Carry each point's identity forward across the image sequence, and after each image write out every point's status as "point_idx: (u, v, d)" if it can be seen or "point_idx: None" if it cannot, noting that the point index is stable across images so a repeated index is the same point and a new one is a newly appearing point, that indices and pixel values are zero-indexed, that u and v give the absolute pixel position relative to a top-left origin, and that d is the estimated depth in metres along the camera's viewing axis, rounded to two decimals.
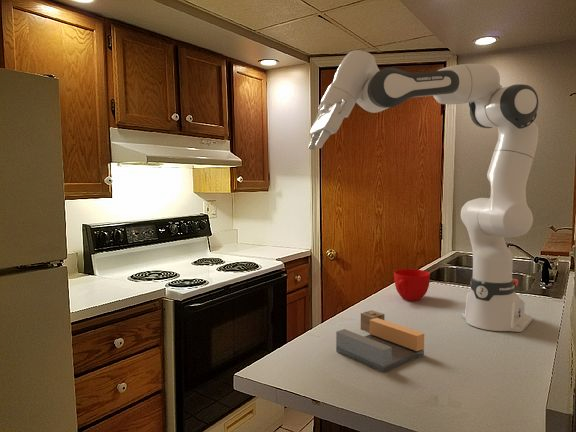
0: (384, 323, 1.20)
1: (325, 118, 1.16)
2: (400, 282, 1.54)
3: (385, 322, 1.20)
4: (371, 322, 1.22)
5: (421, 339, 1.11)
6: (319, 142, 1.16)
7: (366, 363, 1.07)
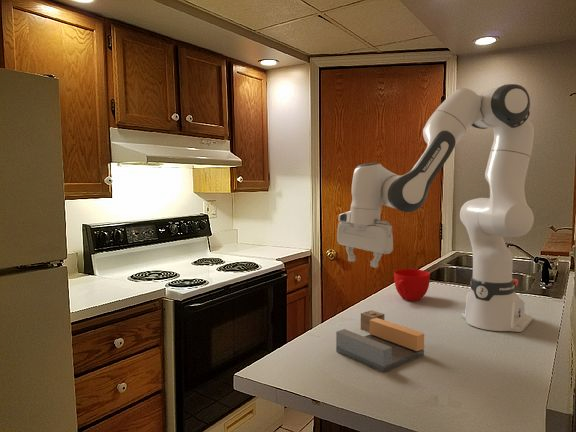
0: (384, 323, 1.20)
1: (371, 240, 1.23)
2: (400, 282, 1.54)
3: (385, 322, 1.20)
4: (371, 322, 1.22)
5: (421, 339, 1.11)
6: (375, 263, 1.24)
7: (366, 363, 1.07)
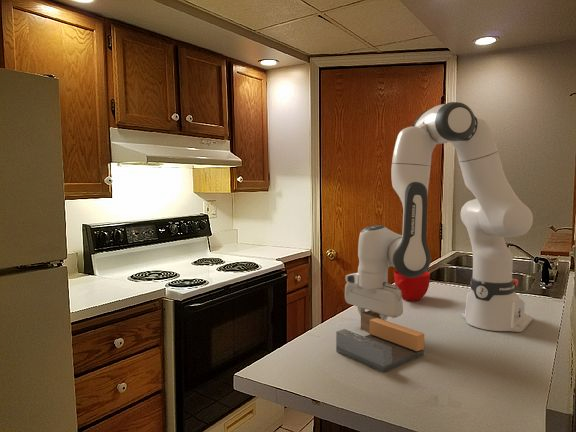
0: (384, 323, 1.20)
1: (381, 304, 1.25)
2: (400, 282, 1.54)
3: (385, 322, 1.20)
4: (371, 322, 1.22)
5: (421, 339, 1.11)
6: None
7: (366, 363, 1.07)
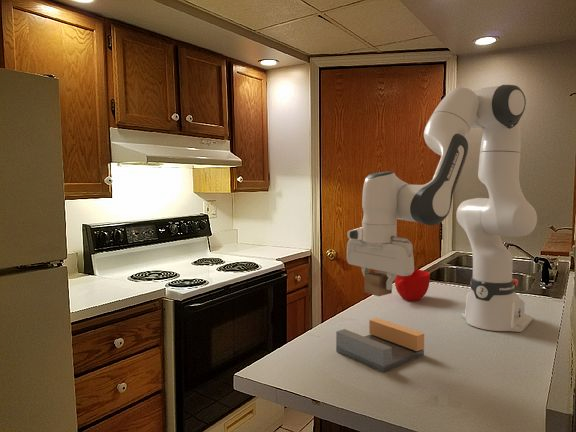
0: (384, 323, 1.20)
1: (388, 261, 1.08)
2: (400, 282, 1.54)
3: (385, 322, 1.20)
4: (371, 322, 1.22)
5: (421, 339, 1.11)
6: (389, 285, 1.10)
7: (366, 363, 1.07)
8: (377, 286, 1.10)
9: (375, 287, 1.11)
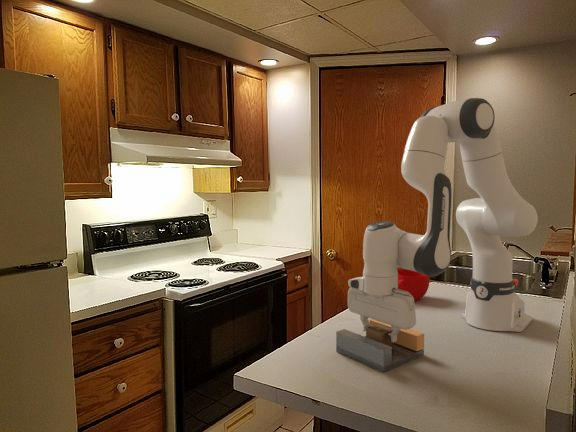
0: (384, 323, 1.20)
1: (390, 313, 1.08)
2: (400, 282, 1.54)
3: None
4: (371, 322, 1.22)
5: (421, 339, 1.11)
6: (393, 337, 1.09)
7: (366, 363, 1.07)
8: None
9: None
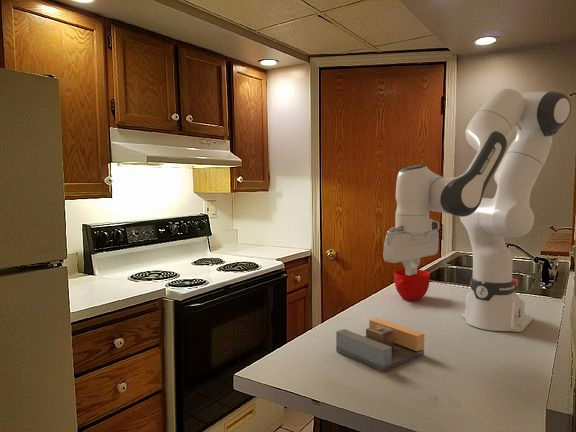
0: (384, 323, 1.20)
1: None
2: (400, 282, 1.54)
3: (385, 322, 1.20)
4: (371, 322, 1.22)
5: (421, 339, 1.11)
6: (406, 270, 1.19)
7: (366, 363, 1.07)
8: None
9: None
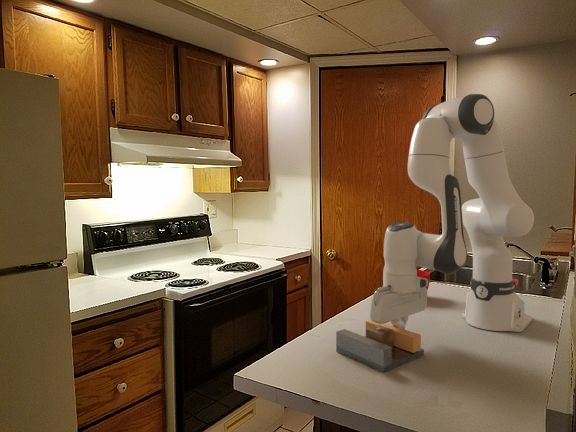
0: (380, 324, 1.19)
1: None
2: None
3: None
4: (367, 323, 1.21)
5: (417, 341, 1.10)
6: None
7: (366, 363, 1.07)
8: None
9: None
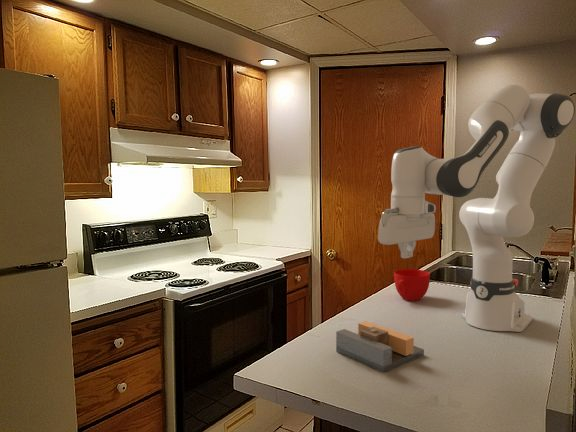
0: None
1: None
2: (400, 282, 1.54)
3: (374, 326, 1.18)
4: (360, 326, 1.19)
5: (410, 344, 1.08)
6: (402, 253, 1.17)
7: (366, 363, 1.07)
8: None
9: None
